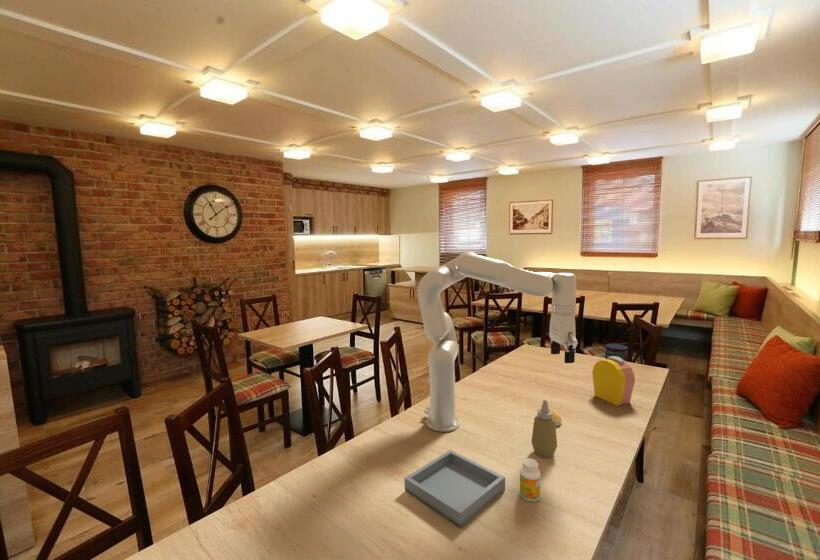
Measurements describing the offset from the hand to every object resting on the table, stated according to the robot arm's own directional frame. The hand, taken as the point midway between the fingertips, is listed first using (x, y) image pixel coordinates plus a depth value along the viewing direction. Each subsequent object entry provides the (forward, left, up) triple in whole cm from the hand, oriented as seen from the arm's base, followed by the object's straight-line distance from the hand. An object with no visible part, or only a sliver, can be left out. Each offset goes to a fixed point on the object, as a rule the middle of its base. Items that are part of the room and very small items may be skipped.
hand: (562, 358), depth 134 cm
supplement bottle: (+8, -35, -29) cm, 46 cm away
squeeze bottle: (+1, -13, -29) cm, 32 cm away
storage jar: (-7, +78, -29) cm, 84 cm away
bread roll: (-8, +9, -29) cm, 32 cm away
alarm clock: (+2, +47, -29) cm, 55 cm away
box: (-8, -48, -29) cm, 57 cm away
